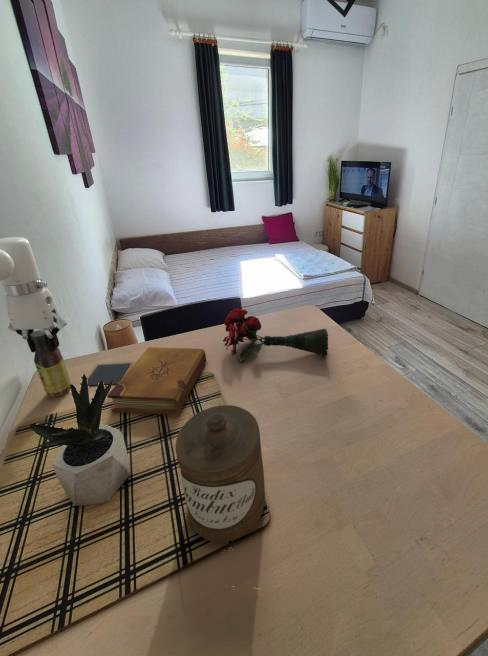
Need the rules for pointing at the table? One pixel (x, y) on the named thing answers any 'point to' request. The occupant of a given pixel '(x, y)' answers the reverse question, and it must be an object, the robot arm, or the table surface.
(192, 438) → the wooden container
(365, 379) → the table surface
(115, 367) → the mat
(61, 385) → the sauce bottle
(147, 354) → the diary
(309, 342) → the carnation
